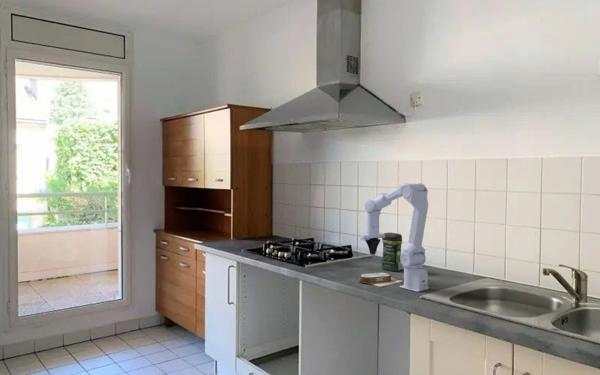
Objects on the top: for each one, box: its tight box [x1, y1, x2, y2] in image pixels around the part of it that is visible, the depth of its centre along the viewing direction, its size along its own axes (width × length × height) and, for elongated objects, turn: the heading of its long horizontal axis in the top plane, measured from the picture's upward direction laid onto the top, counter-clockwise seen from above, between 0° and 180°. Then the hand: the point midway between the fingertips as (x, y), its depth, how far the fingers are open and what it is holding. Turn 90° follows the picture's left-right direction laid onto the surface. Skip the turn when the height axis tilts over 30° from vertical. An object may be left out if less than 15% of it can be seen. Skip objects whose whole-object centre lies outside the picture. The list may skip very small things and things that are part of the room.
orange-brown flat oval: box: [358, 272, 392, 284], centre depth 194 cm, size 15×3×8 cm
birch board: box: [366, 277, 404, 288], centre depth 193 cm, size 10×15×1 cm, turn 129°
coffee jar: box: [381, 232, 403, 272], centre depth 218 cm, size 10×8×19 cm
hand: (372, 254), depth 203 cm, fingers closed
